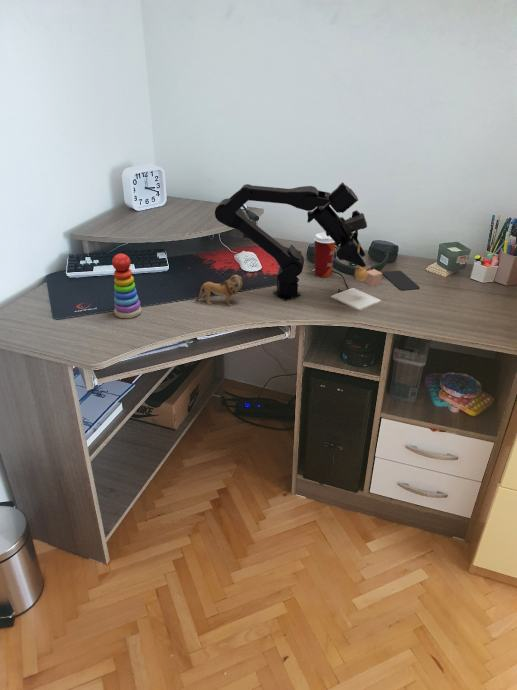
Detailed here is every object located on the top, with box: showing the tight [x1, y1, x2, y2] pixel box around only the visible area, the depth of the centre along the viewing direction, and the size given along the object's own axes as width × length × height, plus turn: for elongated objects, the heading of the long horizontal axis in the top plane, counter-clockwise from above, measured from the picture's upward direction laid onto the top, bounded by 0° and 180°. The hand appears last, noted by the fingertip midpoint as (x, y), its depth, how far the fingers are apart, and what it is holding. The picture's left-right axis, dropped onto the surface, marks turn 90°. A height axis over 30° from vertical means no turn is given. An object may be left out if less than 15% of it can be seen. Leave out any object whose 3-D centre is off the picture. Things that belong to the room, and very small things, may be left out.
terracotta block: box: [363, 268, 383, 287], centre depth 183 cm, size 4×4×4 cm
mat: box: [330, 287, 382, 311], centre depth 172 cm, size 12×10×1 cm
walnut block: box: [353, 264, 372, 279], centre depth 187 cm, size 4×4×4 cm
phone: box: [381, 270, 420, 292], centre depth 185 cm, size 7×1×15 cm
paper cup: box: [313, 231, 336, 279], centre depth 186 cm, size 8×8×14 cm
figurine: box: [354, 242, 368, 282], centre depth 166 cm, size 8×6×12 cm
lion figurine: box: [194, 274, 243, 306], centre depth 168 cm, size 15×5×9 cm, turn 94°
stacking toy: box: [111, 253, 142, 319], centre depth 158 cm, size 8×8×19 cm
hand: (364, 260), depth 166 cm, fingers closed on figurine, 8 cm apart
